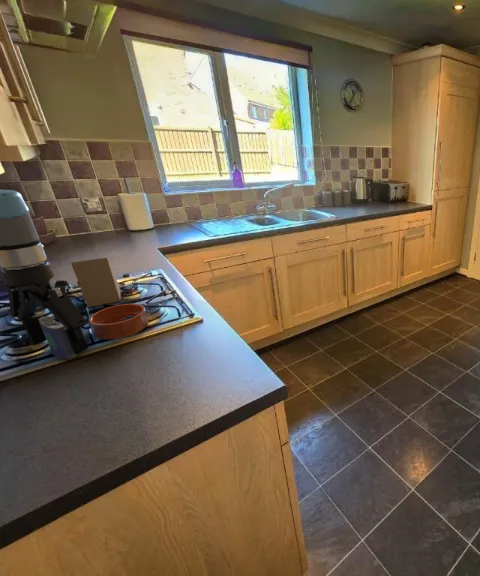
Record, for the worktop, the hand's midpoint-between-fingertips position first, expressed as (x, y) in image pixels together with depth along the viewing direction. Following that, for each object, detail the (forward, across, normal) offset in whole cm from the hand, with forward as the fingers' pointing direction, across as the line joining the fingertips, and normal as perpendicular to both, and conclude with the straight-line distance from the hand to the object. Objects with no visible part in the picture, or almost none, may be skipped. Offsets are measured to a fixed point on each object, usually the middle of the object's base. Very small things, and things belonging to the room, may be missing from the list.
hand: (60, 346), depth 80 cm
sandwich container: (+2, +22, -28) cm, 36 cm away
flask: (+2, 0, 0) cm, 2 cm away
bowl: (+2, -3, -13) cm, 13 cm away
